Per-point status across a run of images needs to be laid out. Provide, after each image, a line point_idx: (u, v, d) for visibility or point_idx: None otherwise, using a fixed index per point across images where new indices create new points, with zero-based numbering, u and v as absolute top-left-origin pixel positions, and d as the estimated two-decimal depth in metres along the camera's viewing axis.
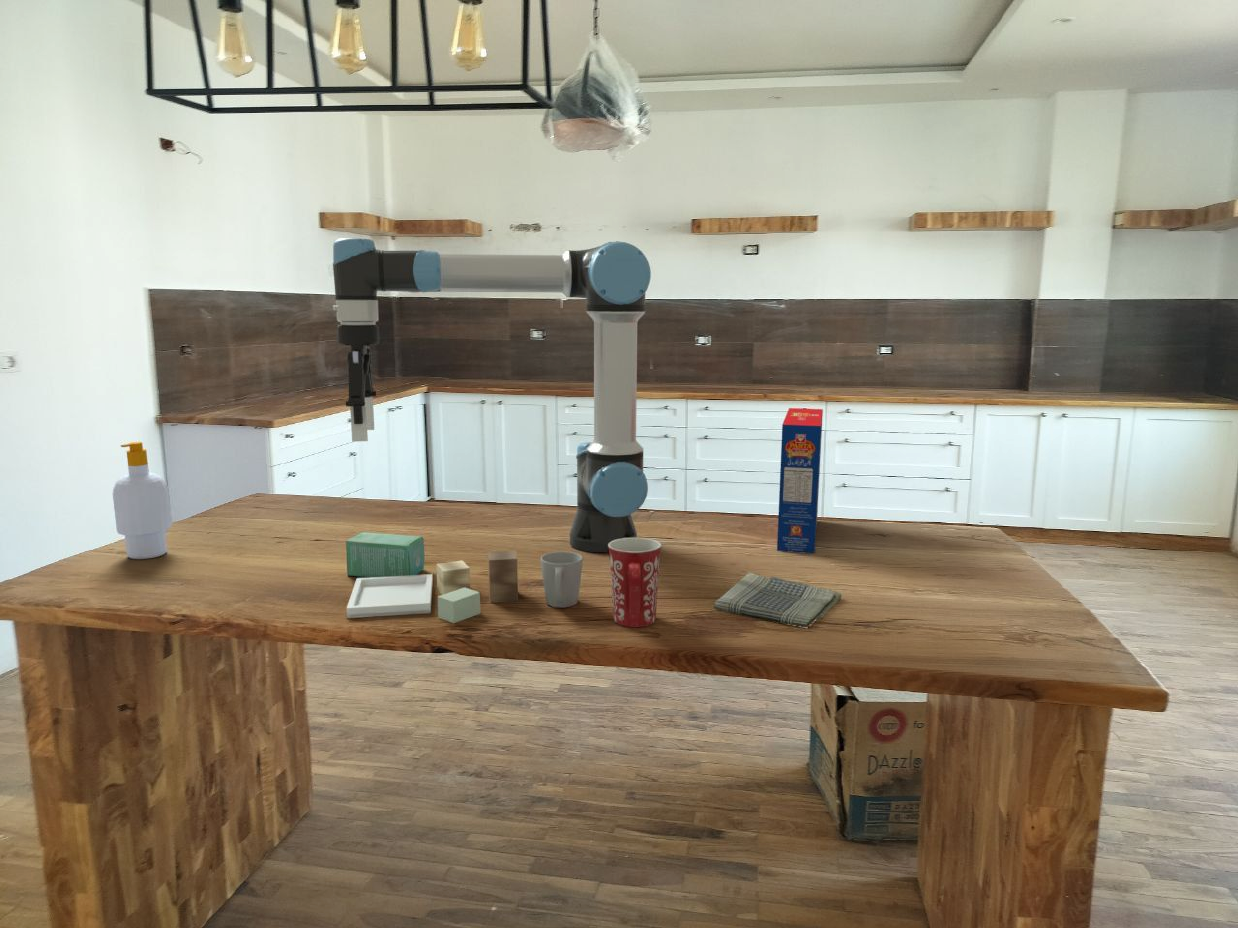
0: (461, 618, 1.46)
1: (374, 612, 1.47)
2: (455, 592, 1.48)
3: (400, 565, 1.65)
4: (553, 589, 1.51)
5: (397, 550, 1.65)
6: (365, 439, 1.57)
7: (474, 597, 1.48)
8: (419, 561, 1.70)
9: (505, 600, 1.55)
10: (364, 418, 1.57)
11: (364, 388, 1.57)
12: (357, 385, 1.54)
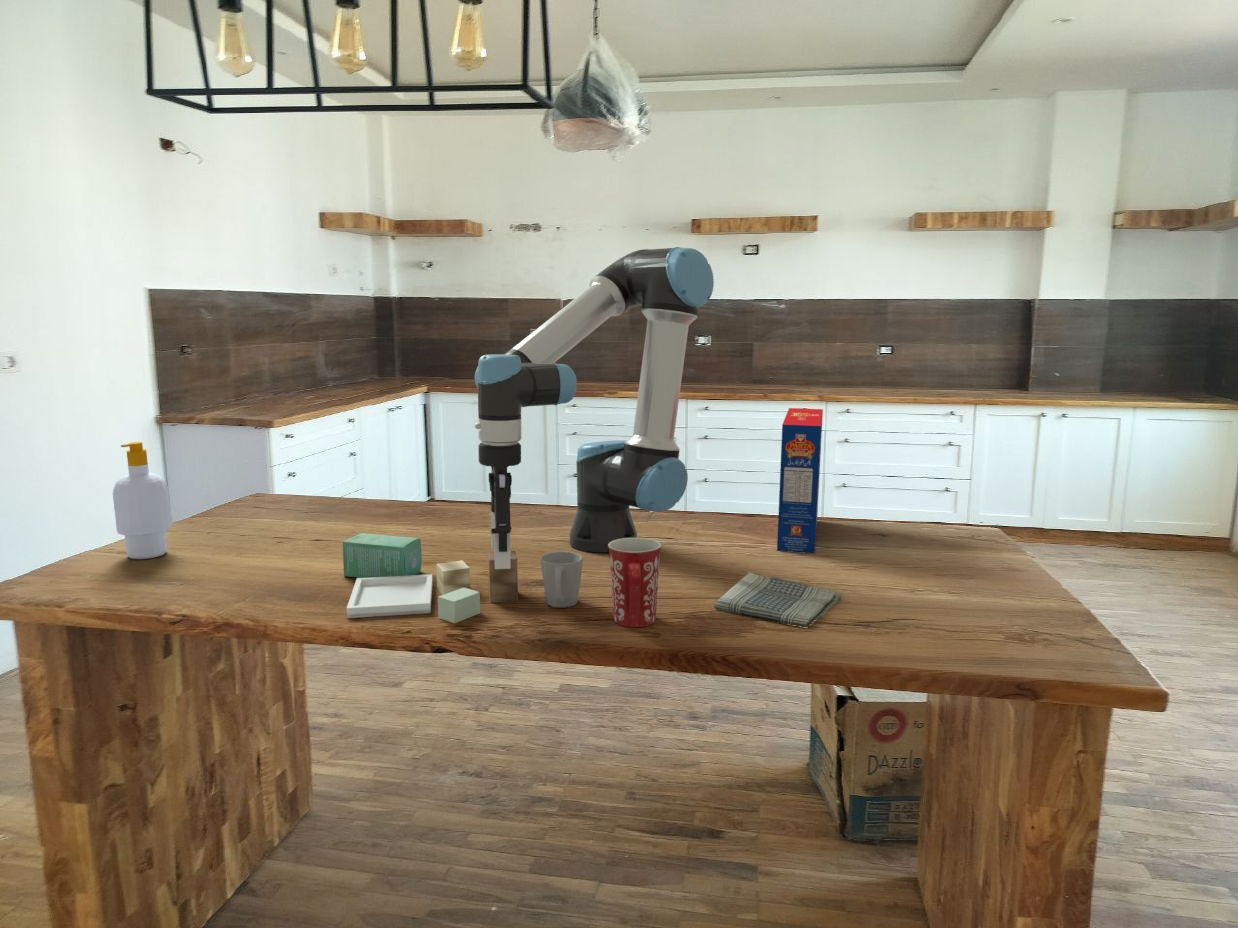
0: (462, 618, 1.46)
1: (374, 612, 1.47)
2: (455, 592, 1.48)
3: (396, 567, 1.64)
4: (553, 589, 1.51)
5: (393, 551, 1.64)
6: (508, 566, 1.49)
7: (474, 597, 1.48)
8: (416, 562, 1.68)
9: (505, 600, 1.55)
10: (509, 545, 1.48)
11: None
12: (504, 512, 1.45)
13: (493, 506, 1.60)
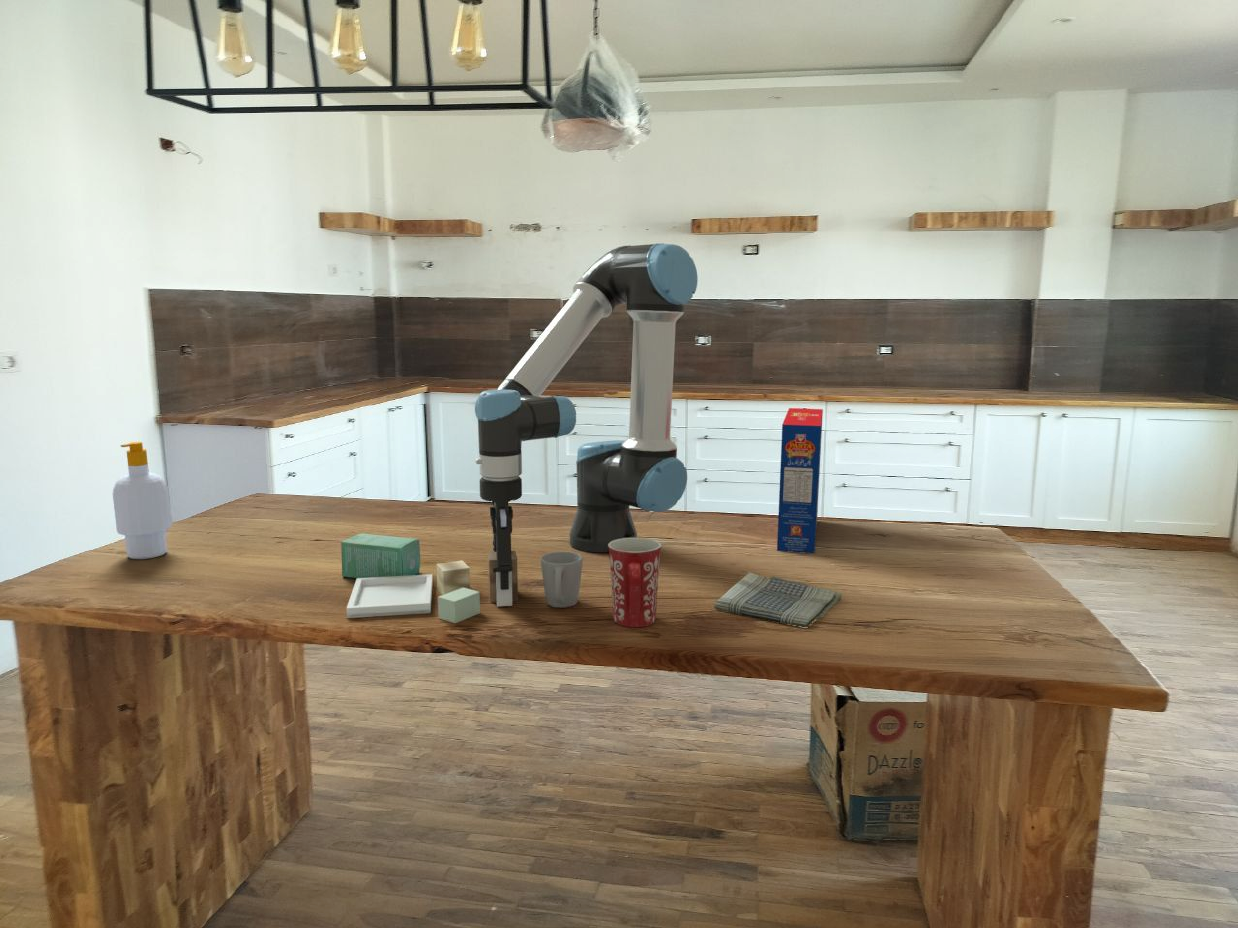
0: (462, 618, 1.46)
1: (374, 612, 1.47)
2: (455, 592, 1.48)
3: (394, 567, 1.64)
4: (553, 589, 1.51)
5: (390, 552, 1.64)
6: (510, 603, 1.52)
7: (474, 597, 1.48)
8: (414, 563, 1.68)
9: None
10: (510, 582, 1.51)
11: None
12: (505, 552, 1.48)
13: (495, 545, 1.60)
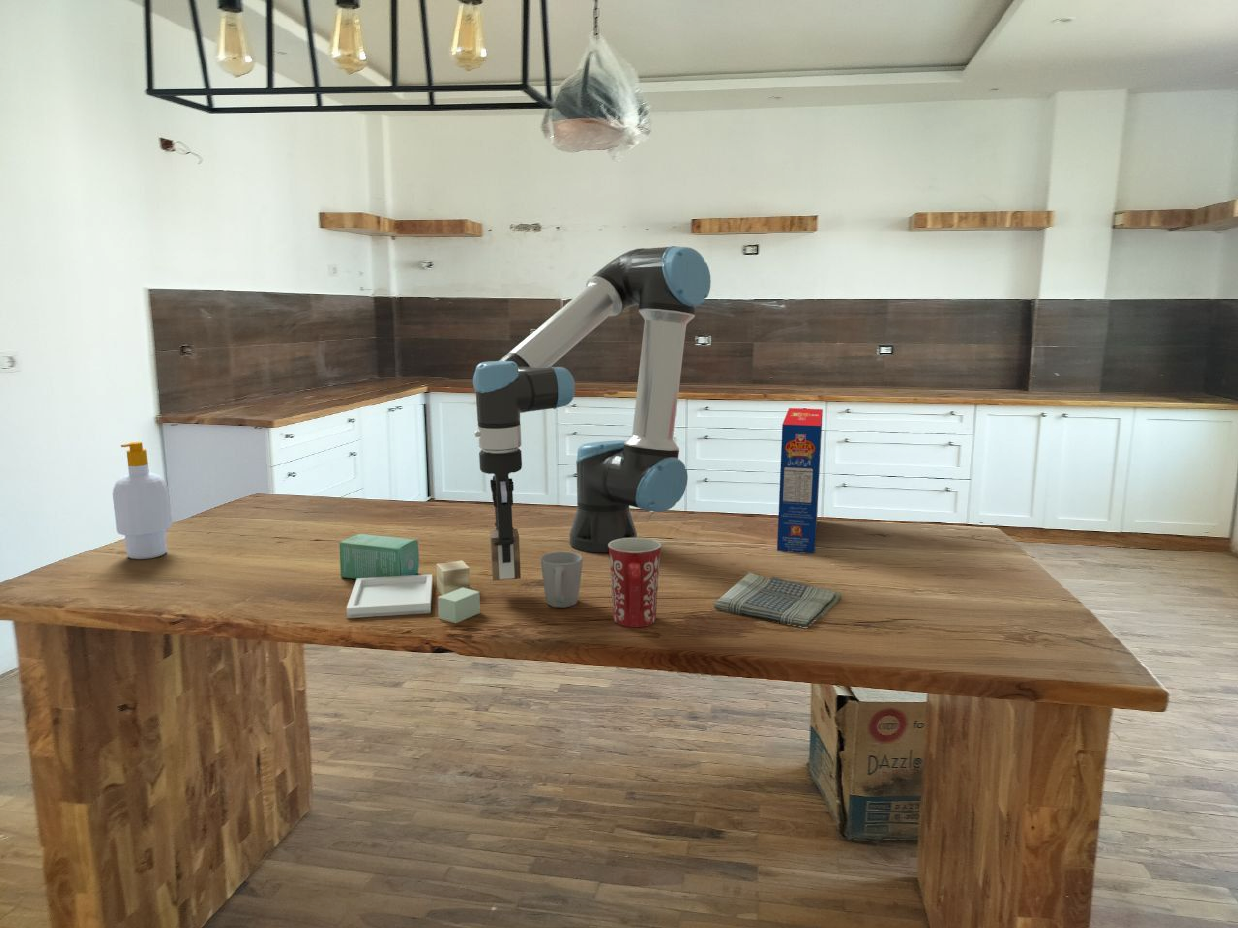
0: (462, 618, 1.46)
1: (374, 612, 1.47)
2: (455, 592, 1.48)
3: (392, 568, 1.64)
4: (553, 589, 1.51)
5: (388, 552, 1.63)
6: (512, 576, 1.54)
7: (474, 596, 1.48)
8: (412, 564, 1.67)
9: None
10: (512, 555, 1.53)
11: None
12: (507, 526, 1.49)
13: (497, 524, 1.58)
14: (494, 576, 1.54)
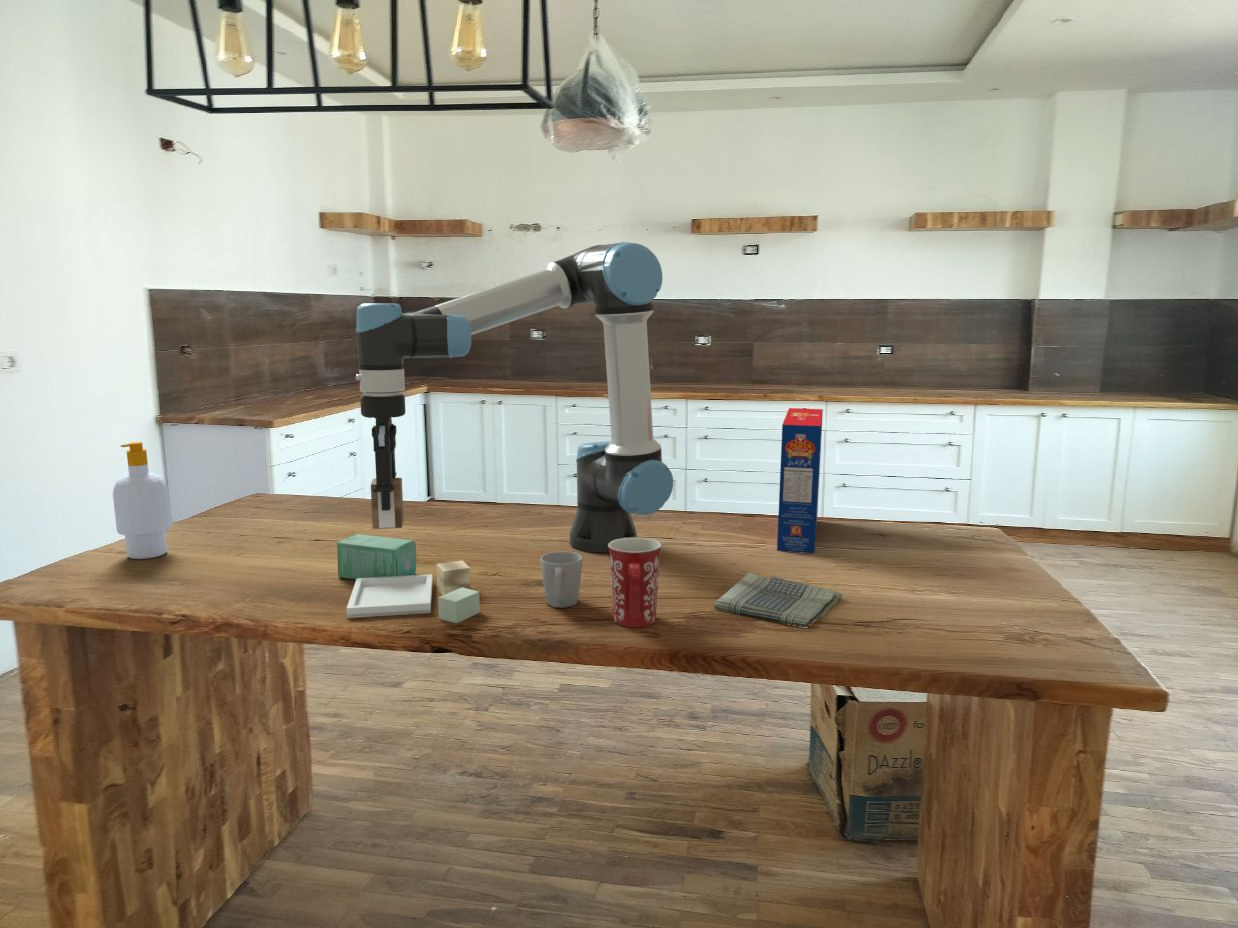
0: (463, 618, 1.46)
1: (374, 612, 1.47)
2: (455, 592, 1.48)
3: (388, 569, 1.63)
4: (553, 589, 1.51)
5: (385, 553, 1.63)
6: (393, 525, 1.50)
7: (474, 596, 1.48)
8: (410, 565, 1.67)
9: None
10: (392, 503, 1.49)
11: (391, 470, 1.48)
12: (384, 472, 1.45)
13: None
14: (374, 524, 1.50)
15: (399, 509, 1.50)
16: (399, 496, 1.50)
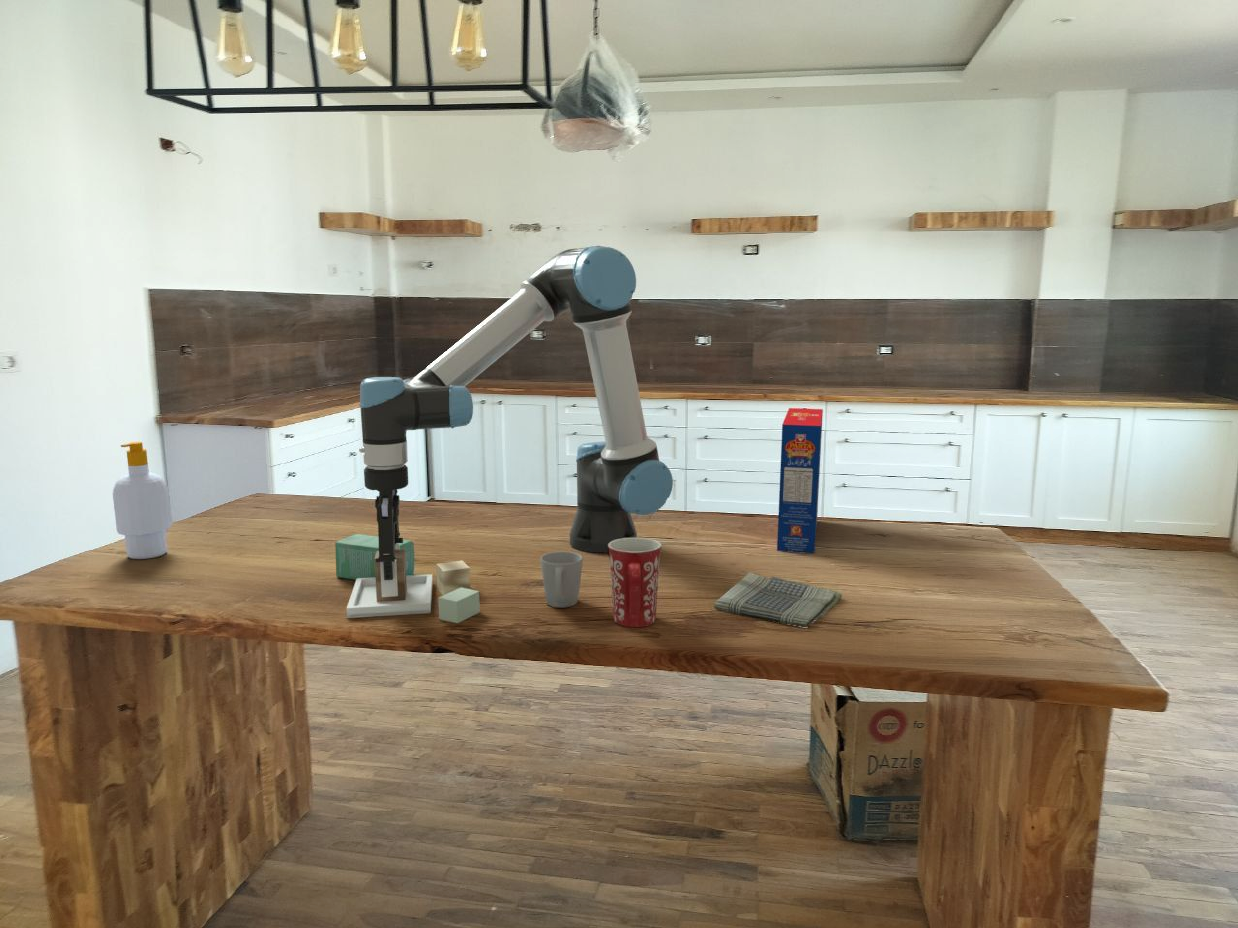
0: (463, 618, 1.46)
1: (374, 612, 1.47)
2: (454, 592, 1.48)
3: None
4: (553, 589, 1.51)
5: None
6: (395, 594, 1.50)
7: (474, 596, 1.48)
8: (407, 565, 1.67)
9: (392, 599, 1.53)
10: (395, 573, 1.50)
11: (394, 540, 1.49)
12: (387, 542, 1.46)
13: None
14: (378, 597, 1.53)
15: (402, 582, 1.53)
16: (402, 569, 1.52)
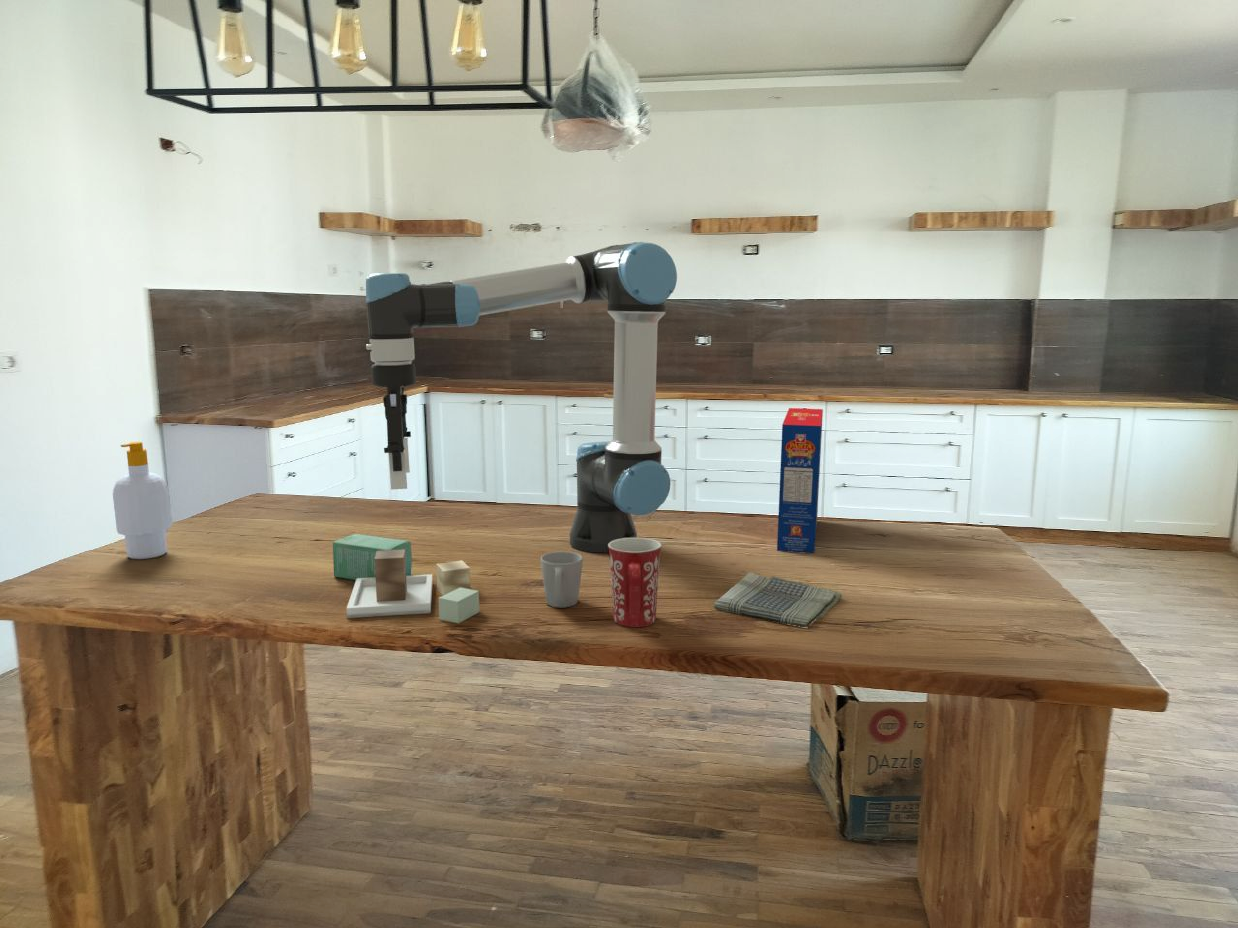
0: (464, 617, 1.46)
1: (374, 612, 1.47)
2: (454, 592, 1.48)
3: None
4: (553, 589, 1.51)
5: None
6: (405, 486, 1.48)
7: (474, 596, 1.48)
8: None
9: (392, 599, 1.53)
10: (404, 464, 1.47)
11: (402, 432, 1.47)
12: (396, 430, 1.44)
13: None
14: (378, 597, 1.53)
15: (402, 582, 1.53)
16: (402, 569, 1.52)
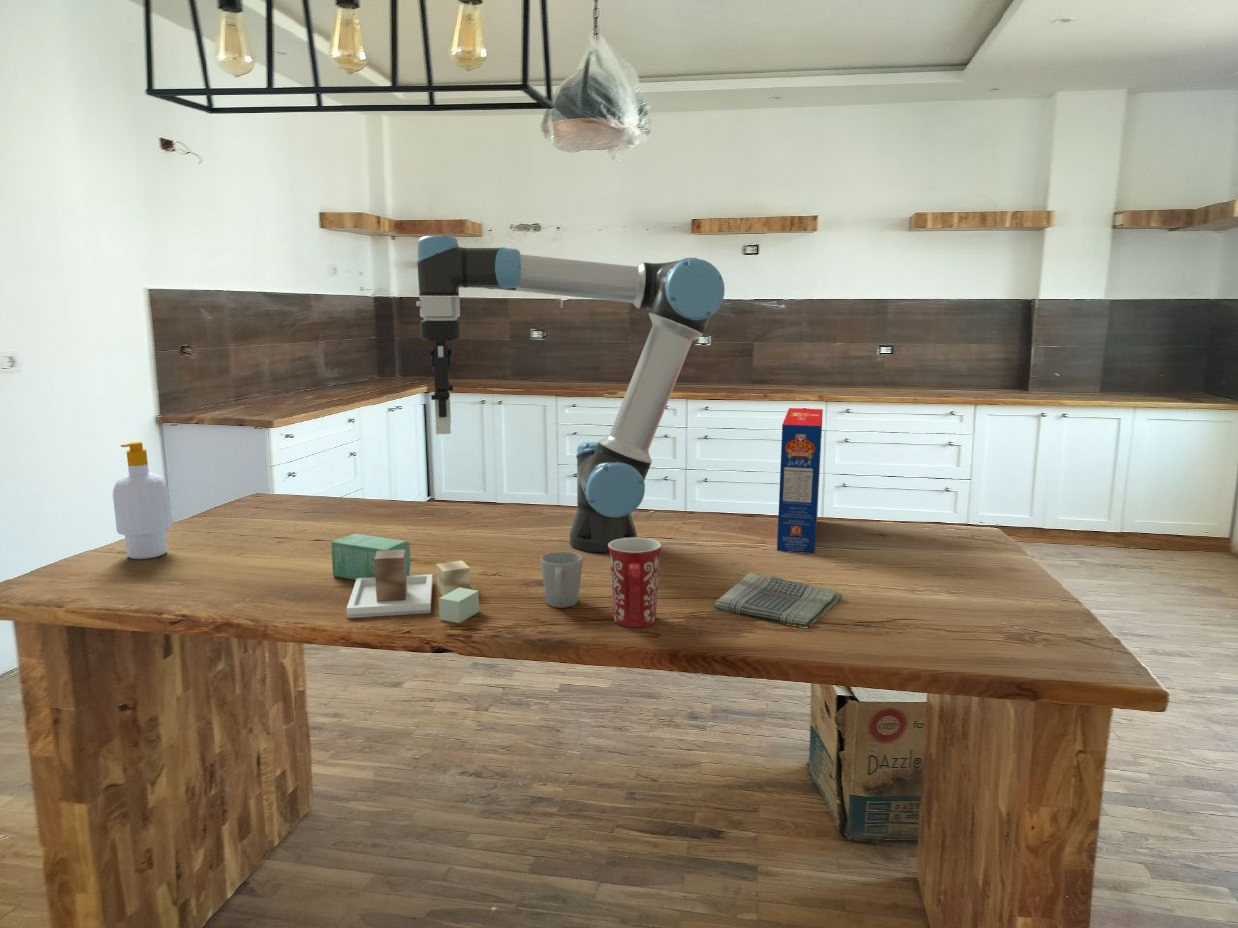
0: (464, 617, 1.46)
1: (374, 612, 1.47)
2: (454, 592, 1.48)
3: None
4: (553, 589, 1.51)
5: None
6: (448, 432, 1.61)
7: (474, 596, 1.48)
8: None
9: (392, 599, 1.53)
10: (448, 411, 1.61)
11: None
12: (442, 379, 1.58)
13: None
14: (378, 597, 1.53)
15: (402, 582, 1.53)
16: (402, 569, 1.52)
